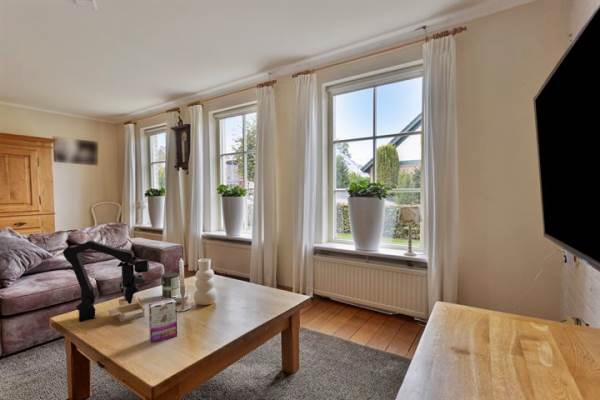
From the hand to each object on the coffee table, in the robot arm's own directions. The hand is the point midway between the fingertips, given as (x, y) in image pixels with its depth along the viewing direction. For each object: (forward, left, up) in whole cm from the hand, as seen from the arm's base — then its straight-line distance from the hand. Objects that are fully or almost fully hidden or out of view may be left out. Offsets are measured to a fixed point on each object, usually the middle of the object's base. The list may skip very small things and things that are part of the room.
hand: (128, 302), depth 159 cm
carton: (-2, -6, -6) cm, 9 cm away
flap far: (+6, -4, -2) cm, 7 cm away
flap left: (0, +2, -2) cm, 3 cm away
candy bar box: (+6, -40, -7) cm, 41 cm away
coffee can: (+26, +12, -7) cm, 30 cm away
